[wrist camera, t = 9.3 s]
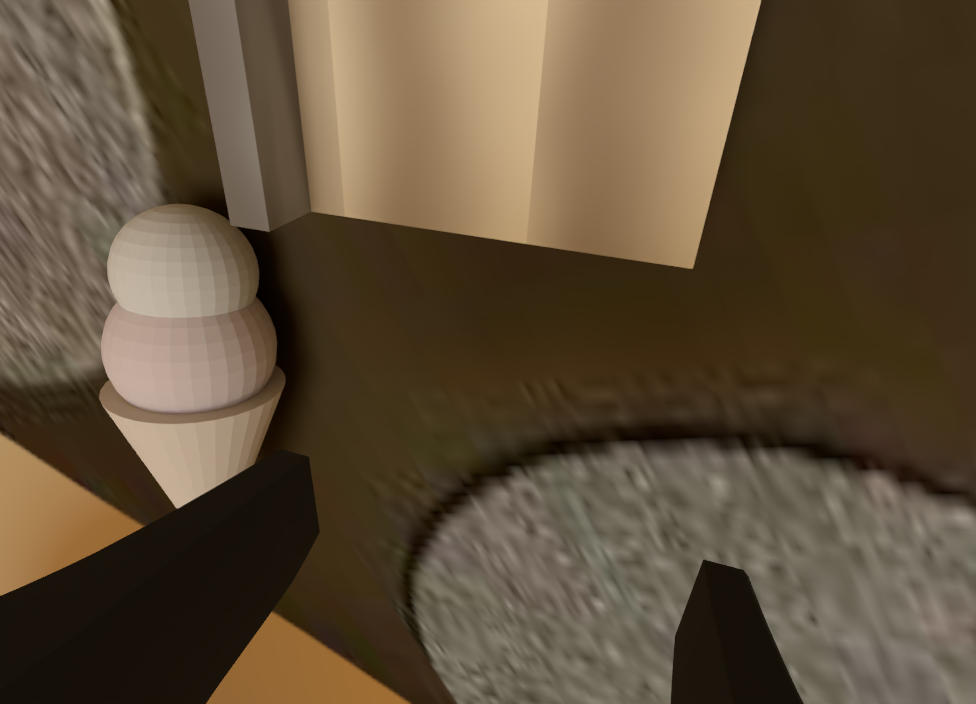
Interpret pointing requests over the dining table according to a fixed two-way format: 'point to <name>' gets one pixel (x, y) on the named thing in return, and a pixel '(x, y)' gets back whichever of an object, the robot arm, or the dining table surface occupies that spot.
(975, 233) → the dining table surface
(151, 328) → the ice cream cone
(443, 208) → the jig
